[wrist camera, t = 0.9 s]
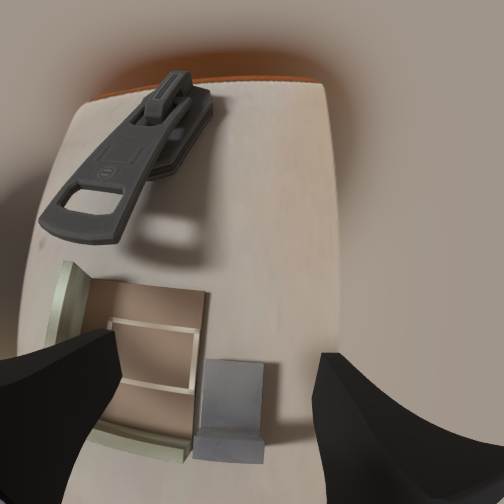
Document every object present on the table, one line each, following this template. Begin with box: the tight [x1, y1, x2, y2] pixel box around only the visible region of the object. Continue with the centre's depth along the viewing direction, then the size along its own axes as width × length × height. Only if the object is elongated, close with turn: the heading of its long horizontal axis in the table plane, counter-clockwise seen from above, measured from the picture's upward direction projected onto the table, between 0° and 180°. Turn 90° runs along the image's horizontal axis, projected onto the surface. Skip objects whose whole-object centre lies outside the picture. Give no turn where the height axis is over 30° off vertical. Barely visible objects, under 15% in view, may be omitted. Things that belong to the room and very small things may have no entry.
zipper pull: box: [38, 71, 213, 245], centre depth 25 cm, size 9×7×25 cm
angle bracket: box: [193, 359, 265, 464], centre depth 17 cm, size 6×4×5 cm, turn 177°
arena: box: [44, 261, 205, 463], centre depth 18 cm, size 12×11×4 cm
